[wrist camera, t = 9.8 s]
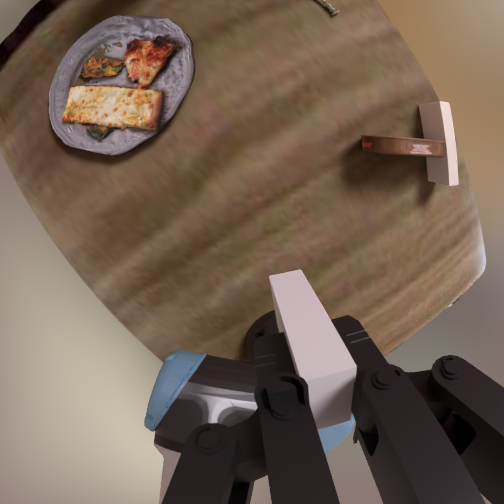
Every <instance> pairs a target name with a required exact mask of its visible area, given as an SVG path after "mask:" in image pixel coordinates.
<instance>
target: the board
mask: <svg viewBox="0 0 504 504" xmlns="http://www.w3.org/2000/svg"><path fill="white" fill-rule="evenodd" d="M419 111H420V116H421V122H422V128H423V135H424V139H429V140H438V141H445V154H444V157H426V161H427V173H428V181H430V182H435V183H439V184H444V185H448V186H452V185H458V167H457V154H456V144H455V136H454V129H453V122H452V116H451V110H450V105H449V103H447V102H441V101H439V102H432V103H426V104H420V105H419Z"/></svg>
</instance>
